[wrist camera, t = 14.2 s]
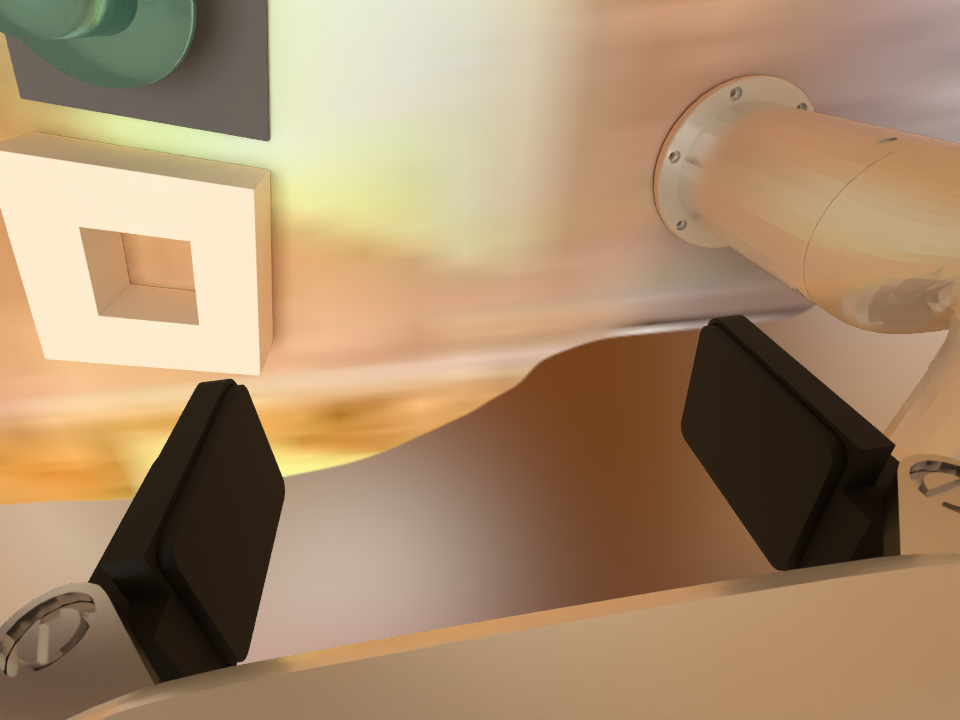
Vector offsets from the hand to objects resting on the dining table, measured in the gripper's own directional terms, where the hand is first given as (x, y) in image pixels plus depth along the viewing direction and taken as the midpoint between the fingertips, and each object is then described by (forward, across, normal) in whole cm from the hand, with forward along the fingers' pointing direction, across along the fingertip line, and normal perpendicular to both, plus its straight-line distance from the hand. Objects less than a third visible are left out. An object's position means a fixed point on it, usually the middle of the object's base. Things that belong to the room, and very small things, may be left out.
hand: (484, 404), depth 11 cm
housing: (+30, +19, +6) cm, 36 cm away
